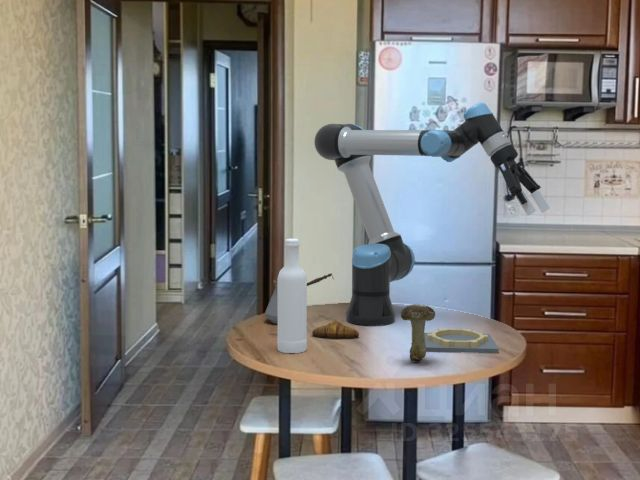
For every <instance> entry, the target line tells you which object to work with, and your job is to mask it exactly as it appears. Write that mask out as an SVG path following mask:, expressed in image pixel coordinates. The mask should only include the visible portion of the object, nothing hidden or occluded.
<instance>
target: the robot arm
mask: <svg viewBox="0 0 640 480" xmlns="http://www.w3.org/2000/svg"><path fill="white" fill-rule="evenodd" d="M463 118H464V120H465V121H463V122H462V124H460V125H459V126H458V127H456V128H454V129H453V130H451V129H450V130H449V129H448V130H446V129H445V130H444V129H426V130H423V129H364V128H363V127H362V126H360V125H357V124H353V123H345V124H343V123H329V124H325V125H323V126H322V127H320V128H319V129H318V131H317V132H316V134H315V136H314V142H313V143H314V148H315V150H316V152H317V153H318V155H319V156H320V157H322V158H324V159H325V160H329V161H334V163H335V166H336V168H337V170H338V171H339V172H341V173H343V174H344V177H345V179H346V182H347V184H348V187H349V189H350V192H351V194H352V198H353V200H354V203H355V205H356V209H357V211H358V213H359V216H360V220H361V221H362V225H363V227H364V230H365V232H366V233H365V234H367V239H368V244H366V243H365V244H360V245H358V246H357V247H355V248H354V249H353V251H352V259H351V264H352V266H351V267H352V270H351V271H352V274H351V280H352V281H351V283H352V284H351V286H352V289H351V295H352V296H351V298H350V301H349V303H348V307H347V310H346V317H345V318H346V320H345V321H346V322H348V323H351V324H354V325H360V326H372V327H373V326H374V327H375V326H385V325H390V324H393V323H394V322H395V321H396V313H395V311H394V310H395V309H394V307H393V304H392V301H391V300H392V299H391V296H390V295H391V294H390V291H391V288H390V287H391V282H396V281H399V280H402V279H404V278H405V277H407V276H408V275H410V274H411V272H412V271H413V268H414V267H415V264H416V263H415V261H416V259H415V258H416V257H415V254H414V252H413V249H412V248H411V247H410V246H409V245H408V244H406V243H405V242H404V241H403V238H402V236H401V235H402V234H400V233H398V232H396V231H394V230H395V229H394V228H393V225H392V222H391V219H390V217H389V214H388V212H387V209H386V207H385V203H384V201H383V198H382V195H381V193H380V191H379V188H378V186H377V185H378V184H377V183H376V180H375V177H374V175H373V171H372V169H371V166H370V160H371V159H372V156H408V157H409V156H414V157H415V156H416V157H417V156H420V157H423V156H424V157H433V158H434V157H435V158H437V157H438V158H439V157H440V158H441V159H442V160H443V161H445V162H447V163H452V162H454V161H455V160H457V159H459V158H460V157H462V156H463V155H464V154H465V153H466V152H468V151H469V150H471V149H472V148H473V147H475V146H476V145H477V144H478V143H479V144H480V145H481V148H483V150H484V152H485V153H486V154H487V156H488V157H490V161H491V163H492V164H493V166H494V167H495V168H496V169H499V171H500V173H501V174H502V176H503V179H504V182H505V184H506V186H507V189H508V190H509V193H510V196H511V198H516V199H517V201H518V203H519V204H520V205H521V207H522V209H523V210H524V212H525V214H526V215H527V217H529V216H531V215H532V214H534V213H535V212H537V208H536V207H535V205H534V204H533V202H532V201H531V199H530V198H529V196H528V195H527V193H526V192H525V190H523V188H522V187H524V188H525V189H526V190H527V191H528V192H529V193H530V194H529V195H530V196H531V198H532V199H533V201H534V203H535V204H536V206H537V207H538V209H539V210H540V212H541V213H542V214H544V213H545V212H546V211H548V210H550V209H551V206H550V205H549V203H548V202H547V200H546V199H545V197H544V196H543V194H542V192H541V191H540V189H541V188H542V187H541V185H539V184H538V182H536V180H535V179H534V178H533V177H532V176H531V174H530V173H529V172H528V171H527V170H526V168H525V167H524V166H523V164H522V163H521V161H519V162H516V161H515V160H516V158H517V157H519V156H518V155H519V153H518V151H517V149H516V148H515V147H514V145H513V144H511V141H510V139H509V138H508V136H509V134H508V133H507V132H506V133H505V130H503V128H502V127H501V125H500V124H499V121H498V120H497V118H496V116H495V115H494V113H493V112H492V111H491V110H490V109H489V107H488V105H487V104H486V103H485V102H478V103H476V104H474V105H472V106H470V107H469V108H468V109H466V111H464V113H463Z"/></svg>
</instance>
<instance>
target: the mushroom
mask: <svg viewBox="0 0 640 480" xmlns="http://www.w3.org/2000/svg"><path fill="white" fill-rule="evenodd" d="M400 318H401V319H402V320H403V321H410V325H411V347H410V349H409V359H410V361H411V362H413V363H420V362H421V361H422V360H423V359H424V358H425V357H426V355H427V352H426V343H425V333H426V332H425V329H426V321H427V322H429V321H432V320H434V319H435V318H436V312H435V310H434V309H433V308H432V307H431V306H429V305H425V304H417V303H416V304H415V303H414V304H410V305H407V306H406V307H404V308H402V310H401V312H400Z"/></svg>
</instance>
